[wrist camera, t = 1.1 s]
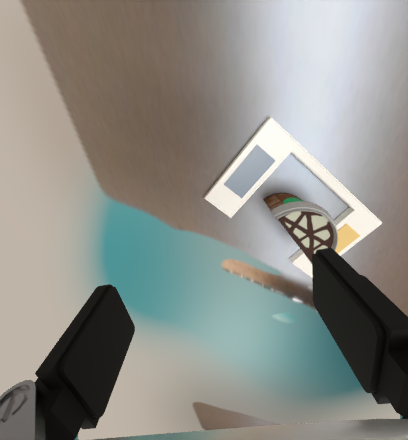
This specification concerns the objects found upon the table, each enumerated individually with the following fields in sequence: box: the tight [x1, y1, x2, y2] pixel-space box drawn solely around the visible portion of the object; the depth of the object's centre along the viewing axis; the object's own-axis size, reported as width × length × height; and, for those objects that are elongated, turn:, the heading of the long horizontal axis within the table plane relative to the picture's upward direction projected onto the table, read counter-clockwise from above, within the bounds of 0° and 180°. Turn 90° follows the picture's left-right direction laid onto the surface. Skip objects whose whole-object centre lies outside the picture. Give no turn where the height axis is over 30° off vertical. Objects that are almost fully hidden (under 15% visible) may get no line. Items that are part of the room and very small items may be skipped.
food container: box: [264, 193, 338, 264], centre depth 34 cm, size 12×6×10 cm, turn 40°
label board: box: [205, 117, 382, 277], centre depth 37 cm, size 16×28×2 cm, turn 52°
